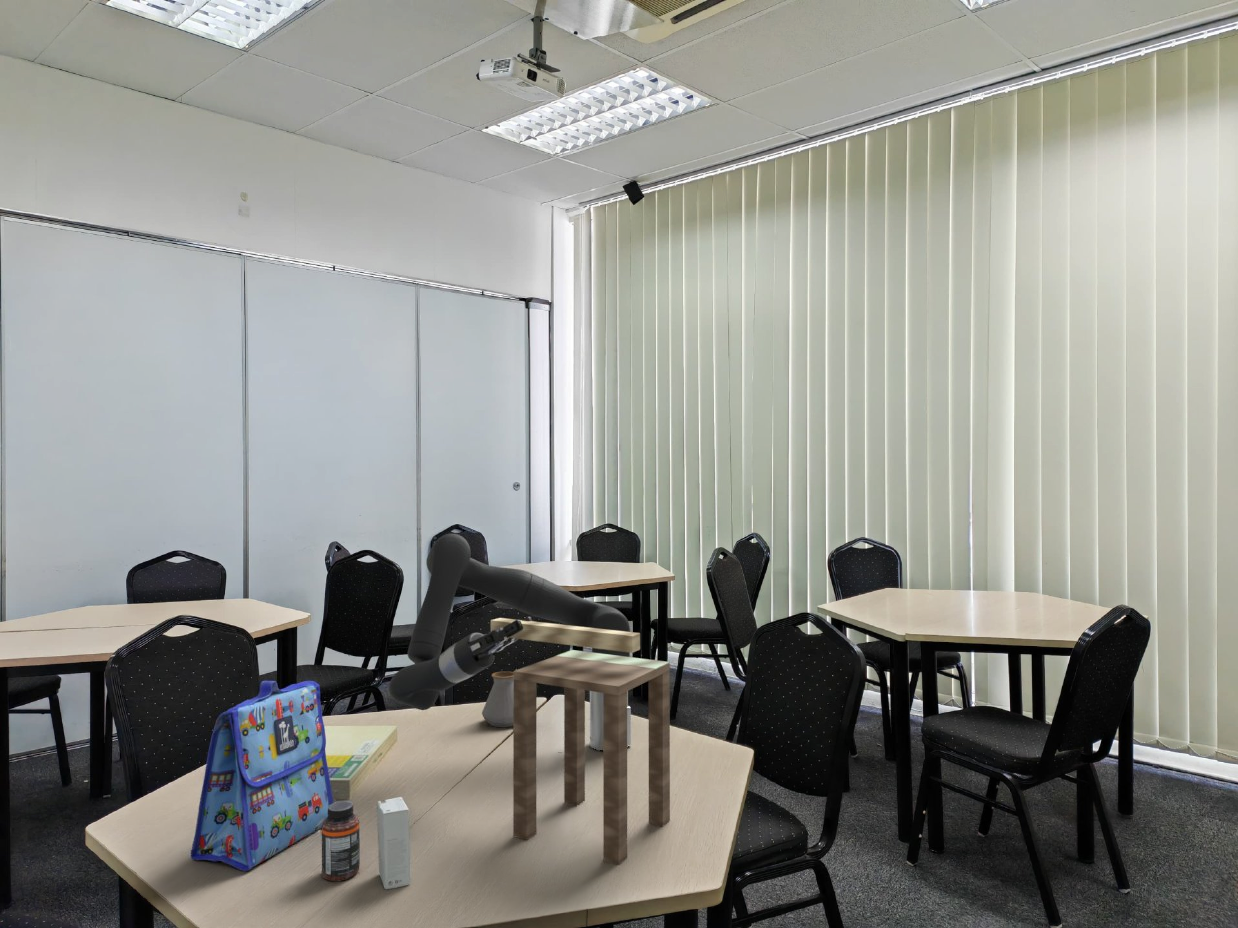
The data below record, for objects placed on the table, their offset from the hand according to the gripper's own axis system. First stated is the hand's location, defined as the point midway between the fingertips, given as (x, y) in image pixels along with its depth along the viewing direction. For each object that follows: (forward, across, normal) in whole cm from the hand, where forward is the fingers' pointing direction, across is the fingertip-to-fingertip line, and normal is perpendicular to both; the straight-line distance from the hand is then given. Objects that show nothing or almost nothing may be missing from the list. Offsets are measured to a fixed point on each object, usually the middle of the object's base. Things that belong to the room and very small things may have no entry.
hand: (525, 622), depth 158 cm
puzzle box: (-65, -3, +6) cm, 66 cm away
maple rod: (+6, 0, +7) cm, 9 cm away
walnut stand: (-5, 0, +40) cm, 40 cm away
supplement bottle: (-29, -35, +26) cm, 52 cm away
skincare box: (-21, -32, +30) cm, 49 cm away
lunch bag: (-48, -33, +15) cm, 60 cm away
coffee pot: (-48, +46, +15) cm, 68 cm away
